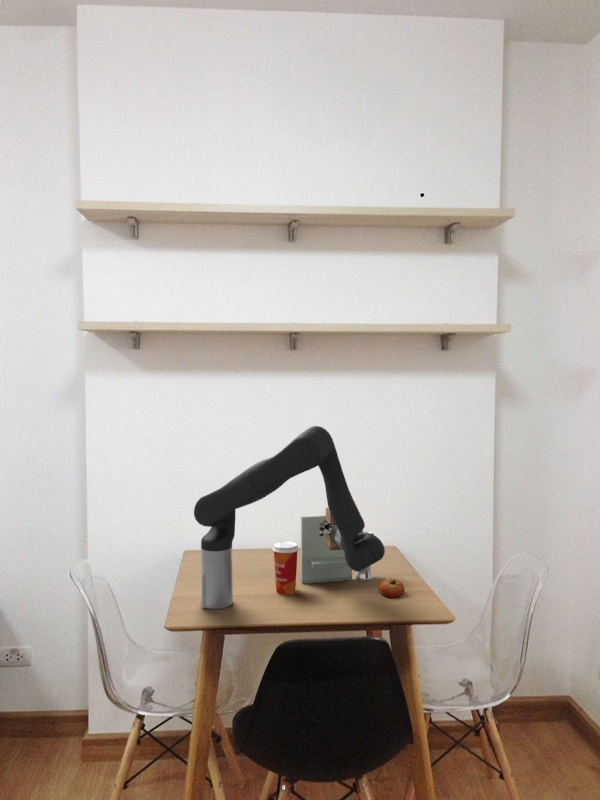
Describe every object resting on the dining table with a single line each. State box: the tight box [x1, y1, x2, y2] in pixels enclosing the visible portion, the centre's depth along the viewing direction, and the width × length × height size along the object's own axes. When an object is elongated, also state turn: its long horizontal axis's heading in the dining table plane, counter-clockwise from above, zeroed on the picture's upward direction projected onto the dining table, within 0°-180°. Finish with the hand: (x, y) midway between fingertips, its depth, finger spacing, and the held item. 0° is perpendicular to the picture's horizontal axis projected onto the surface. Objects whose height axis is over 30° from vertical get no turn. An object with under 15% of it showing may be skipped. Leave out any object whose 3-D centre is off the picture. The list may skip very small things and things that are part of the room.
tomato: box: [378, 578, 405, 599], centre depth 197 cm, size 8×7×7 cm
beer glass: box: [354, 531, 375, 582], centre depth 212 cm, size 7×7×15 cm
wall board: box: [298, 514, 353, 584], centre depth 208 cm, size 17×10×22 cm, turn 101°
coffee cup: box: [272, 541, 300, 595], centre depth 199 cm, size 8×8×15 cm
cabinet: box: [325, 507, 342, 550], centre depth 196 cm, size 5×7×12 cm
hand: (333, 523), depth 199 cm, fingers closed on cabinet, 5 cm apart
